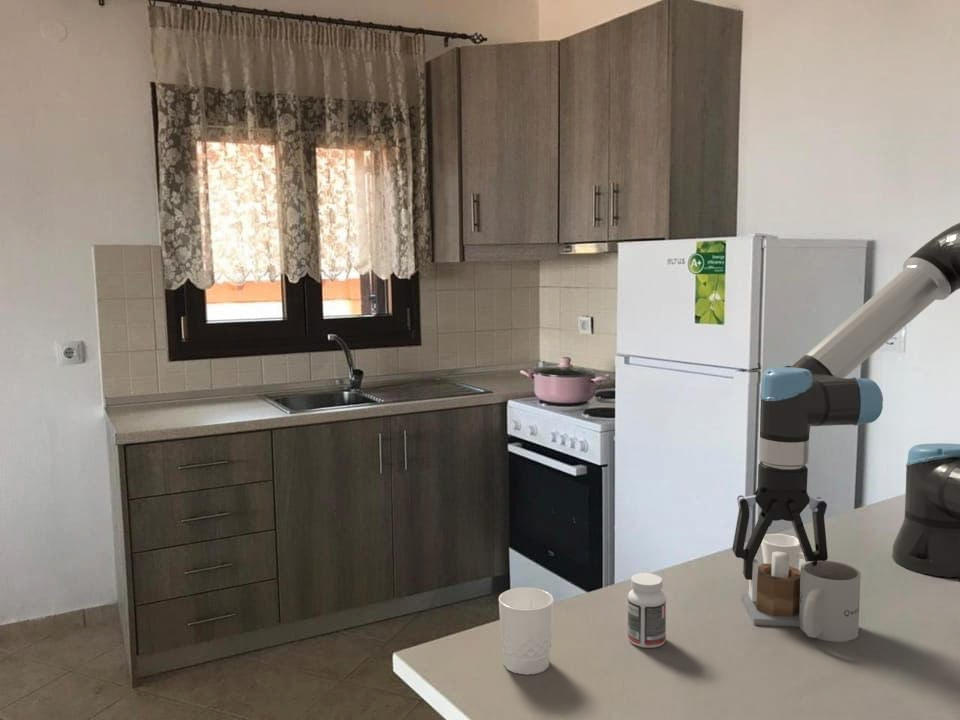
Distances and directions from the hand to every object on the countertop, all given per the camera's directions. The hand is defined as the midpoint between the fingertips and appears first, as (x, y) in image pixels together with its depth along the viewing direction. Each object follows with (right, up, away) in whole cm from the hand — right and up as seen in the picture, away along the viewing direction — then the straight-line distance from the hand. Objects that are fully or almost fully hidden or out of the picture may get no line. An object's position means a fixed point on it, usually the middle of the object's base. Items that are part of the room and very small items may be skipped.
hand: (777, 598), depth 133 cm
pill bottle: (-23, -4, -9) cm, 25 cm away
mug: (+4, -4, -7) cm, 9 cm away
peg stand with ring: (0, -2, 0) cm, 2 cm away
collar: (0, -1, 0) cm, 1 cm away
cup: (+6, -1, +11) cm, 13 cm away
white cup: (-42, -5, -15) cm, 45 cm away
